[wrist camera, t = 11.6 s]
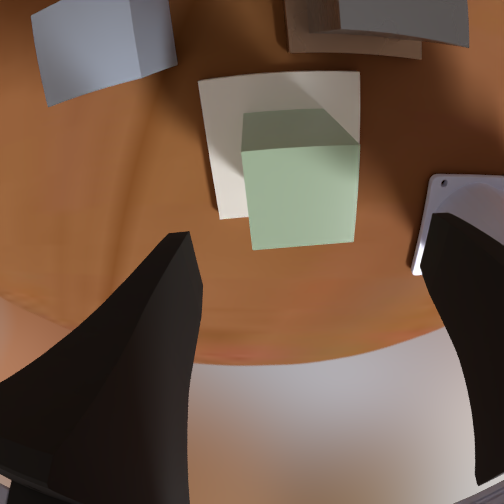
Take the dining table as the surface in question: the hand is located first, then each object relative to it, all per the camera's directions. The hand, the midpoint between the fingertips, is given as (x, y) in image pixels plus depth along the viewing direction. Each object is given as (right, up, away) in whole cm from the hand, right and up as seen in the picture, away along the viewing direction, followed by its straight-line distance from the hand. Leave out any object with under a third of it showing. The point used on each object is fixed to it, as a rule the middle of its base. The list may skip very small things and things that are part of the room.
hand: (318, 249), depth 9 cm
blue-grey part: (-8, +11, +4) cm, 14 cm away
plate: (0, +6, +8) cm, 9 cm away
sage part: (0, +5, +7) cm, 9 cm away
